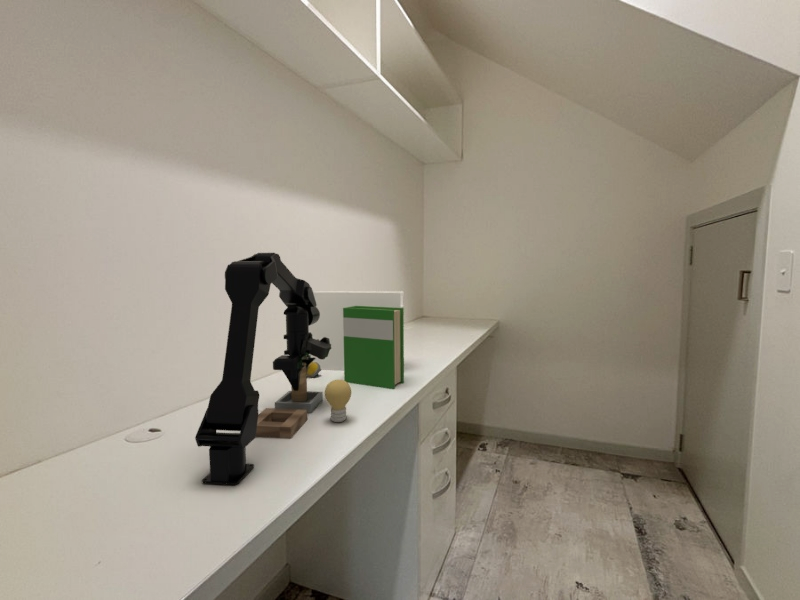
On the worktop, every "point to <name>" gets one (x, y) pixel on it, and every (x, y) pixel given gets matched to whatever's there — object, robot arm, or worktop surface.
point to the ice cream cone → (313, 369)
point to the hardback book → (373, 346)
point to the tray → (309, 405)
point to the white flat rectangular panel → (332, 318)
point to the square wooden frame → (280, 422)
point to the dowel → (301, 387)
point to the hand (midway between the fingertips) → (299, 388)
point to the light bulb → (338, 398)
